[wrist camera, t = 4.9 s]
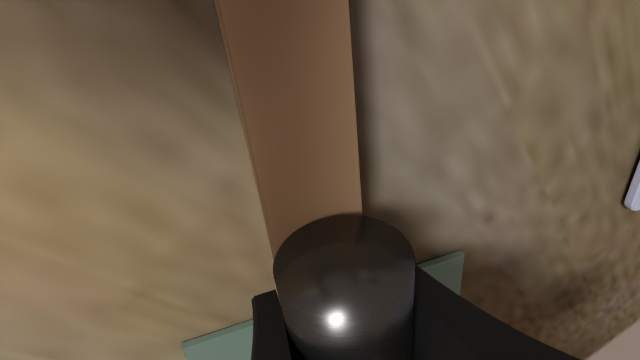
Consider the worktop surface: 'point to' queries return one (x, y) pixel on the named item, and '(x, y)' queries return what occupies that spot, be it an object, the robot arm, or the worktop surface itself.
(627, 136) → the worktop surface
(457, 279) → the mat
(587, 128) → the worktop surface
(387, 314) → the dark grey round-headed part
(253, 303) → the robot arm
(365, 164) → the worktop surface
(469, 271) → the worktop surface
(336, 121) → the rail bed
